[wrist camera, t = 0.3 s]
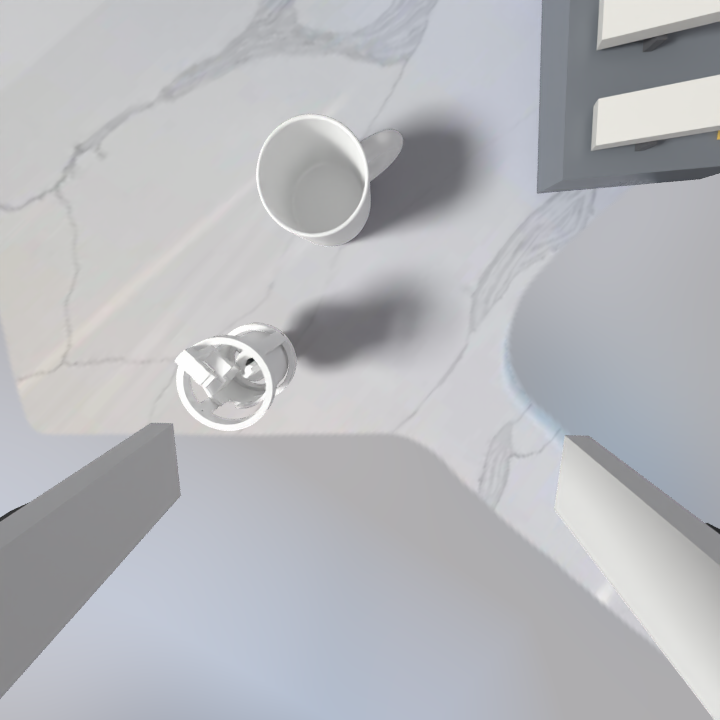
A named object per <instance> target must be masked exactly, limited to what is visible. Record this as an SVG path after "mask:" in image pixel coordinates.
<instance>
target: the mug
mask: <svg viewBox="0 0 720 720" xmlns="http://www.w3.org/2000/svg"><path fill="white" fill-rule="evenodd" d="M402 147H403V138H402V135H401V134H400V132H398V131H397V130H394V129H388V130H383V131H380V132H378V133H375V134H373V135H371V136H369V137H368V138H366V139H364V140H362V141H361V142H359V140H358V139H357V137H356V136H355V135H354V134H353V132H352V131H351V130H350V129H348V128H347V127H346V126H345V125H344V124H342V123H341V122H339V121H337V120H335V119H333V118H331V117H328V116H324V115H319V114H305V115H300V116H296V117H293V118H291V119H288V120H287V121H285V122H283V123H282V124H280V125H279V126H278V127H277V128H276V129H275V130H274V131H273V132H272V133H271V134H270V135H269V137H268V138H267V139H266V141H265V143H264V145H263V147H262V149H261V152H260V154H259V158H258V162H257V170H256V179H257V187H258V191H259V195H260V198H261V200H262V203H263V205H264V207H265V208H266V210H267V211H268V213H269V214H270V216H271V217H272V218H273V219H274V220H275V221H276V222H277V223H278V224H279V225H280V226H282V227H283V228H285V229H286V230H288V231H290V232H292V233H293V234H295V235H297V236H299V237H301V238H303V239H305V240H307V241H309V242H311V243H313V244H316V245H320V246H327V247H332V246H338V245H342V244H344V243H347V242H349V241H350V240H352V239H353V238H354V237H356V236H357V235H358V234H359V232H360V231H361V230H362V229H363V227H364V225H365V224H366V221H367V219H368V216H369V213H370V208H371V192H370V181H372V180H373V179H374V178H376V177H377V176H378V175H379V174H381V173H382V172H383V171H384V170H385V169H386V168H387V167H388V166H390V165H391V163H392V162H393V161H394V160H395V159H396V158H397V156H398V155H399V153H400V151H401V149H402Z"/></svg>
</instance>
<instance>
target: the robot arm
mask: <svg viewBox="0 0 720 720" xmlns="http://www.w3.org/2000/svg"><path fill="white" fill-rule="evenodd" d="M180 495H181V494H180V486H179V475H178V466H177V456H176V447H175V437H174V428H173V424H169V423H150V424H149V425H147V426H146V427H144V428H143V429H141V430H140V431H138V432H137V433H135V434H133V435H132V436H130V437H129V438H127V439H126V440H124V441H123V442H121V443H120V444H118V445H117V446H115V447H114V448H112V449H111V450H109V451H108V452H106V453H105V454H103V455H102V456H100V457H99V458H97V459H95V460H94V461H92V462H91V463H89V464H88V465H86V466H85V467H83V468H82V469H80V470H79V471H77V472H75V473H74V474H72V475H71V476H69V477H68V478H66V479H65V480H63V481H62V482H60V483H59V484H57V485H56V486H54V487H53V488H51V489H49V490H48V491H47V492H45V493H43V494H42V495H41V496H39V497H37V498H36V499H34V500H33V501H31V502H29V503H27V504H25V505H23V506H21V507H18V508H16V509H14V510H12V511H10V512H8V513H7V514H5V515H4V516H2V517H0V699H1V697H2V696H3V695H4V694H5V693H6V692H7V691H8V690H9V688H10V687H11V686H12V685H13V684H14V683H15V682H16V681H17V679H18V678H19V677H20V676H21V675H22V674H23V673H24V672H25V670H26V669H27V668H28V667H29V666H30V665H31V664H32V663H33V661H34V660H35V659H36V658H37V657H38V656H39V655H40V653H41V652H42V651H43V650H44V649H45V648H46V647H47V646H48V645H49V643H50V642H51V641H52V640H53V639H54V638H55V637H56V636H57V634H58V633H59V632H60V631H61V630H62V629H63V628H64V627H65V625H66V624H67V623H68V622H69V621H70V619H72V618H73V616H74V615H75V614H76V613H77V612H78V611H79V610H80V609H81V607H82V606H83V605H84V604H85V603H86V601H88V600H89V598H90V597H91V596H92V595H93V594H94V593H95V592H96V591H97V589H98V588H99V587H100V586H101V585H102V584H103V583H104V581H105V580H106V579H107V578H108V577H109V576H110V575H111V574H112V572H113V571H114V570H115V569H116V568H117V567H118V566H119V565H120V563H121V562H122V561H123V560H124V559H125V558H126V557H127V555H128V554H129V553H130V552H131V551H132V550H133V549H134V548H135V546H136V545H137V544H138V543H139V542H140V541H141V540H142V539H143V538H144V536H145V535H146V534H147V533H148V532H149V531H150V530H151V529H152V527H153V526H154V525H155V524H156V523H157V522H158V521H159V519H160V518H161V517H162V516H163V515H164V514H165V513H166V512H167V511H168V509H169V508H170V507H171V506H172V505H173V504H174V503H175V502H176V500H177V499H178V498H179V497H180ZM554 510H555V511H556V513H557V514H558V515H559V517H560V518H561V519H562V521H563V522H564V523H565V525H566V526H567V527H568V529H569V530H570V531H571V532H572V534H573V535H574V536H575V538H576V539H577V540H578V542H579V543H580V544H581V546H582V547H583V548H584V550H585V551H586V552H587V553H588V555H589V556H590V557H591V559H592V560H593V561H594V563H595V564H596V565H597V567H598V568H599V569H600V570H601V572H602V573H603V574H604V576H605V577H606V578H607V580H608V581H609V582H610V584H611V585H612V586H613V588H614V589H615V590H616V591H617V593H618V594H619V595H620V597H621V598H622V599H623V601H624V602H625V603H626V605H627V606H628V607H629V609H630V610H631V611H632V612H633V614H634V615H635V616H636V618H637V619H638V620H639V622H640V623H641V624H642V626H643V627H644V628H645V630H646V631H647V632H648V633H649V635H650V636H651V637H652V639H653V640H654V641H655V643H656V644H657V645H658V647H659V648H660V649H661V651H662V652H663V653H664V654H665V656H666V657H667V658H668V660H669V661H670V662H671V664H672V665H673V666H674V668H675V669H676V670H677V671H678V673H679V674H680V675H681V677H682V678H683V679H684V681H685V682H686V683H687V685H688V686H689V687H690V689H691V690H692V691H693V692H694V693H695V695H696V696H697V698H698V699H699V700H700V701H701V703H702V704H703V706H704V707H705V708H706V710H707V711H708V712H709V713H710V715H711V716H712V717H713V719H714V720H720V529H718V528H716V527H714V526H712V525H710V524H708V523H704V522H703V521H701V520H700V519H699V518H697V517H696V516H695V515H693V514H692V513H691V512H689V511H688V510H687V509H685V508H684V507H683V506H681V505H680V504H679V503H677V502H676V501H675V500H673V499H672V498H671V497H669V496H668V495H667V494H665V493H664V492H663V491H662V490H660V489H659V488H658V487H656V486H655V485H654V484H652V483H651V482H650V481H648V480H647V479H646V478H644V477H643V476H642V475H640V474H639V473H638V472H636V471H635V470H634V469H632V468H631V467H629V466H628V465H627V464H626V463H624V462H623V461H622V460H620V459H619V458H617V457H616V456H615V455H614V454H612V453H611V452H609V451H608V450H607V449H605V448H604V447H603V446H602V445H600V444H599V443H598V442H596V441H595V440H593V439H592V438H591V437H590V436H576V435H565V438H564V445H563V452H562V459H561V465H560V472H559V479H558V486H557V492H556V499H555V506H554Z"/></svg>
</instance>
